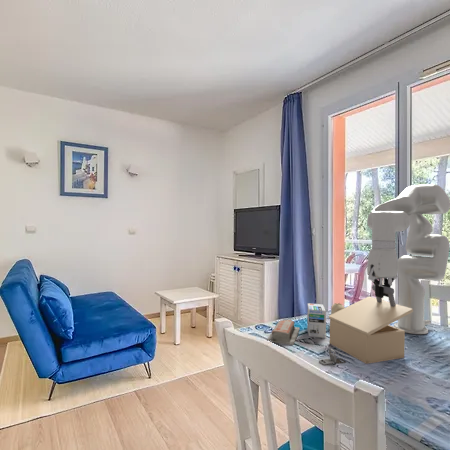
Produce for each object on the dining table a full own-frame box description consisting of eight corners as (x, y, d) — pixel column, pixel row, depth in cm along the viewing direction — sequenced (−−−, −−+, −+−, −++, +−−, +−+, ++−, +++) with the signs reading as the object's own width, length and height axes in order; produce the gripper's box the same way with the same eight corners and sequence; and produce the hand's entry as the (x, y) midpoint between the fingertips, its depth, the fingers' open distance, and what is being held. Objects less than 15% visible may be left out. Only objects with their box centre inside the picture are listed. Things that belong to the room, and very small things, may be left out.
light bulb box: (326, 338, 122) (326, 310, 122) (308, 336, 124) (308, 309, 124) (323, 329, 133) (323, 303, 133) (306, 328, 134) (307, 302, 134)
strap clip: (324, 366, 98) (324, 353, 98) (318, 362, 101) (318, 349, 101) (346, 363, 101) (347, 350, 101) (340, 359, 104) (340, 346, 104)
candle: (338, 329, 133) (338, 305, 133) (328, 325, 138) (328, 302, 138) (347, 327, 135) (347, 304, 135) (337, 324, 140) (337, 301, 140)
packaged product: (294, 333, 114) (266, 329, 118) (293, 346, 114) (266, 342, 118) (300, 319, 131) (276, 316, 134) (299, 331, 131) (276, 328, 134)
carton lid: (369, 298, 124) (365, 280, 123) (413, 311, 106) (408, 290, 105) (329, 318, 118) (324, 299, 117) (368, 335, 100) (362, 313, 99)
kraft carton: (363, 338, 122) (364, 315, 122) (404, 357, 106) (404, 330, 106) (329, 343, 117) (330, 319, 117) (366, 363, 100) (367, 335, 100)
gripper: (391, 244, 120) (390, 292, 120) (357, 245, 114) (357, 296, 115) (409, 246, 113) (408, 297, 113) (374, 247, 107) (373, 301, 108)
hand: (382, 296), depth 114 cm, fingers closed on carton lid, 2 cm apart
